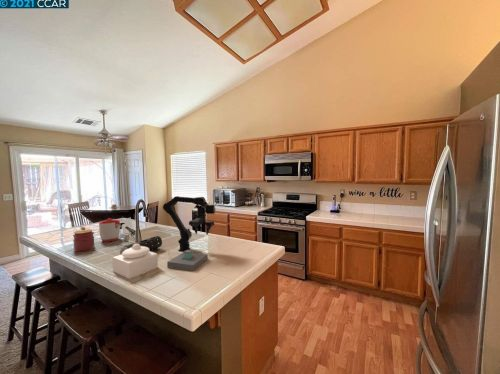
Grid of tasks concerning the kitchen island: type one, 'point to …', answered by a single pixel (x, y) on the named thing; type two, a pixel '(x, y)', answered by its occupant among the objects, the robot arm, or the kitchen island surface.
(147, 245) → the muzzle brake
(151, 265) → the butter dish
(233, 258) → the kitchen island surface
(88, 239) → the canister
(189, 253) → the block
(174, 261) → the outlet plate
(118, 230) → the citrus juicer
